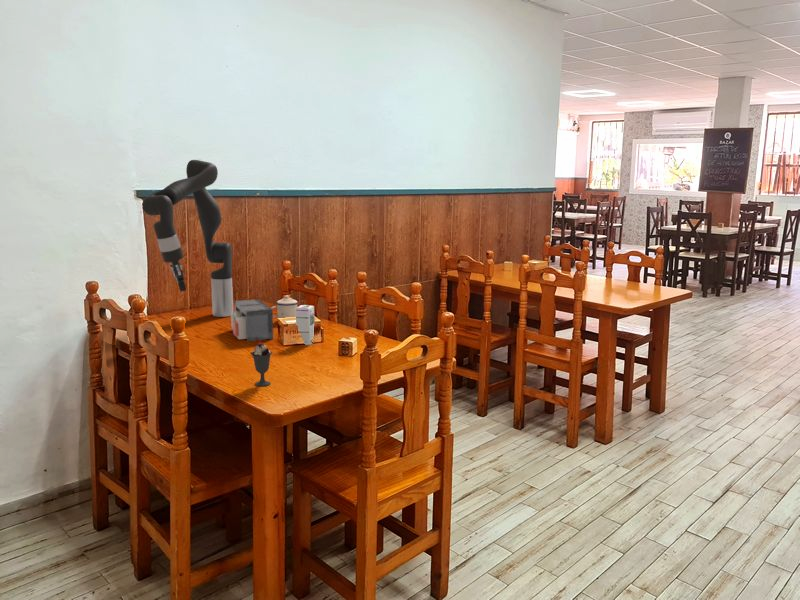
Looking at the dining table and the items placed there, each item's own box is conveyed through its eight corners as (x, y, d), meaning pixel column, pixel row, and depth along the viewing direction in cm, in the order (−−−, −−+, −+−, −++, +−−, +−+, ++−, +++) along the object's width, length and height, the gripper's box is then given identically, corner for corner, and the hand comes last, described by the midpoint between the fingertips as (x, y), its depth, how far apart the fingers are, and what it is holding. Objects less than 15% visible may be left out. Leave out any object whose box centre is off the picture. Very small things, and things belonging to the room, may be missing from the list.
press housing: (235, 328, 272) (234, 300, 269) (259, 326, 276) (258, 298, 274) (247, 341, 251) (246, 311, 249) (273, 339, 256) (272, 309, 253)
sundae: (253, 380, 205) (251, 334, 202) (274, 380, 205) (273, 334, 203) (250, 387, 198) (248, 340, 196) (272, 387, 199) (270, 340, 196)
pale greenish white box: (231, 330, 268) (230, 311, 266) (253, 328, 272) (253, 309, 270) (234, 333, 263) (233, 313, 261) (256, 331, 267) (256, 312, 265)
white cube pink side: (233, 336, 257) (232, 317, 256) (256, 334, 261) (255, 315, 260) (235, 339, 253) (235, 319, 251) (259, 337, 257) (258, 317, 255)
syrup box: (310, 345, 247) (309, 308, 244) (295, 344, 248) (295, 307, 246) (315, 341, 253) (314, 305, 250) (301, 340, 254) (300, 304, 251)
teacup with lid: (295, 318, 291) (295, 293, 289) (299, 323, 283) (299, 297, 280) (269, 320, 287) (268, 294, 285) (272, 325, 279) (271, 298, 277)
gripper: (183, 248, 239) (196, 291, 245) (177, 242, 250) (190, 283, 256) (162, 253, 236) (176, 297, 242) (157, 247, 247) (171, 289, 254)
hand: (183, 290), depth 249 cm, fingers closed
